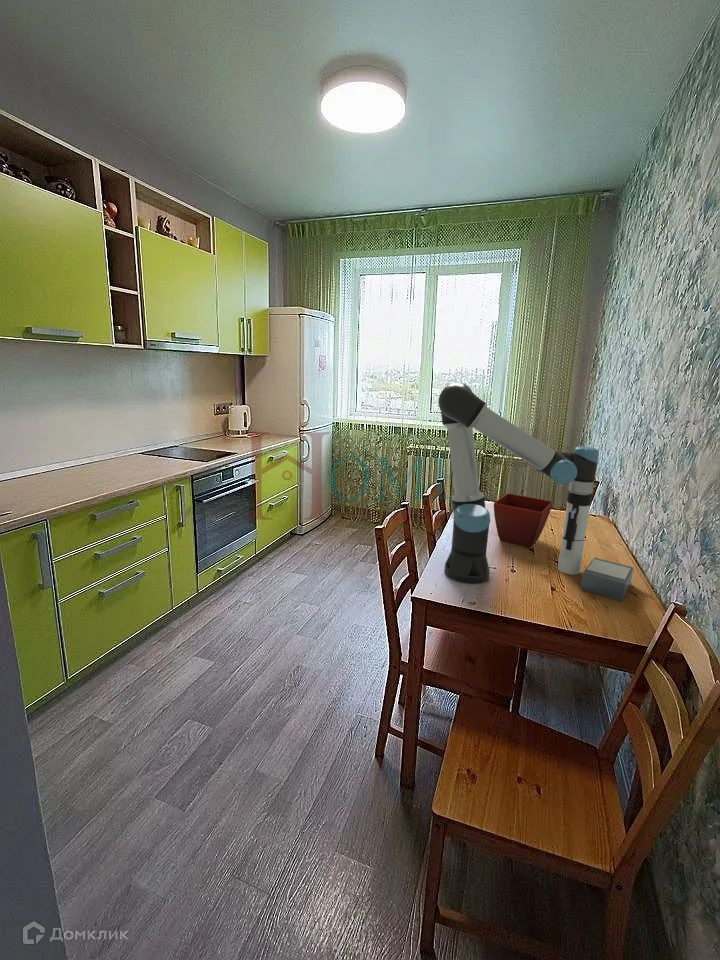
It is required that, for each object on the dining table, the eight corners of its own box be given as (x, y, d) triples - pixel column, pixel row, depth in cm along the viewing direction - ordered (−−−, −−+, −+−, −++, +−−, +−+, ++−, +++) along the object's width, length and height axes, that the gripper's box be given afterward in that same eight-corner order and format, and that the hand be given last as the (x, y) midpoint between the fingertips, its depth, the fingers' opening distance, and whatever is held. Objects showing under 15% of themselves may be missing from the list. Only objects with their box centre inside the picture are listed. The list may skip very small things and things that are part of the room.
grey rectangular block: (621, 601, 137) (625, 582, 136) (580, 589, 145) (583, 571, 143) (630, 584, 149) (633, 566, 148) (591, 573, 157) (594, 556, 155)
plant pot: (536, 553, 173) (542, 512, 169) (488, 541, 184) (492, 502, 180) (548, 539, 189) (553, 501, 185) (503, 529, 199) (507, 493, 195)
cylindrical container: (559, 573, 156) (569, 505, 150) (555, 564, 163) (565, 499, 157) (581, 575, 155) (592, 507, 149) (576, 567, 161) (587, 501, 155)
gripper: (585, 500, 142) (574, 566, 147) (598, 488, 157) (589, 549, 163) (560, 495, 146) (551, 559, 152) (576, 485, 162) (567, 543, 167)
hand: (570, 554), depth 157 cm, fingers closed on cylindrical container, 7 cm apart
